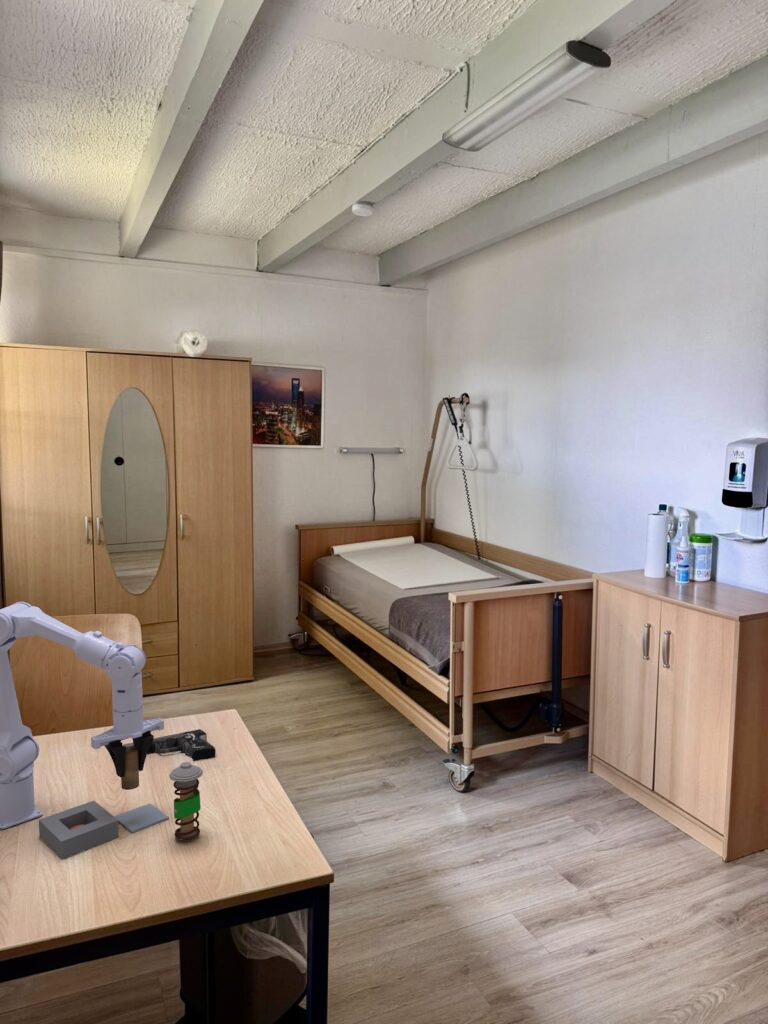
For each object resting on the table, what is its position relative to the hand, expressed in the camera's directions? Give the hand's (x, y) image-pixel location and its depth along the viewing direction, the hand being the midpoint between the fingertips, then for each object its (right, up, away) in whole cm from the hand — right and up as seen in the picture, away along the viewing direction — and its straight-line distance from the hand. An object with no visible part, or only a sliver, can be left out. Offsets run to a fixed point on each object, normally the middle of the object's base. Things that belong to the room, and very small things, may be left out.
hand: (129, 772), depth 149 cm
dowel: (0, -3, 0) cm, 3 cm away
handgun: (-2, -8, +33) cm, 34 cm away
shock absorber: (+13, -11, -5) cm, 18 cm away
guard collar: (-8, -11, -5) cm, 15 cm away
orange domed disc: (-8, -11, -5) cm, 14 cm away
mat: (+2, -10, +2) cm, 11 cm away
